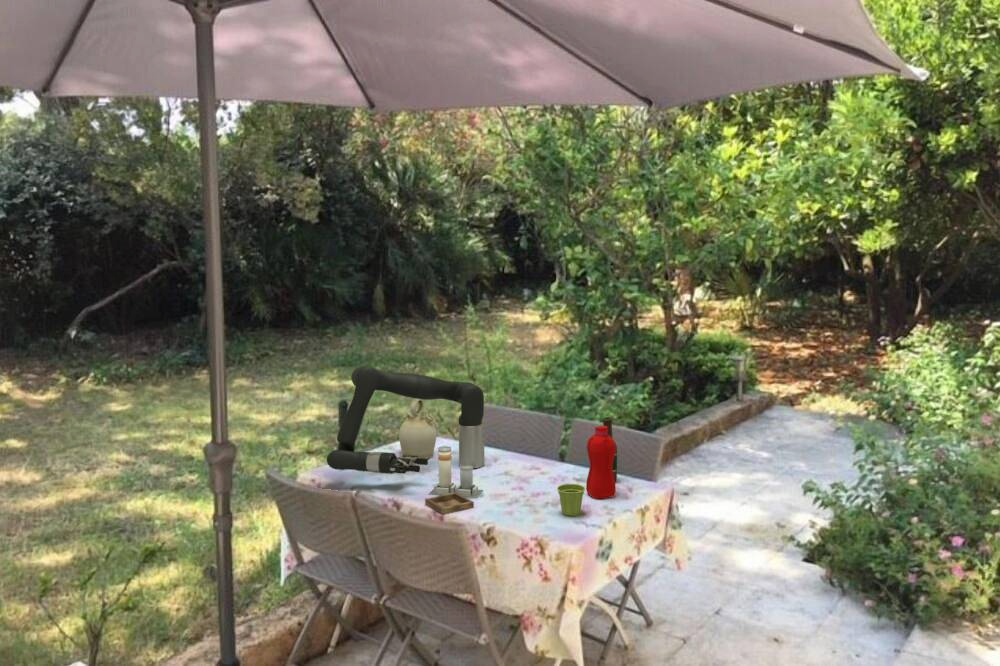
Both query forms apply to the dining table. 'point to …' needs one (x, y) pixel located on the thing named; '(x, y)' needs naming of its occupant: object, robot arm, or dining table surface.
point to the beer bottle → (608, 423)
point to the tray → (449, 503)
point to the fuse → (466, 477)
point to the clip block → (457, 489)
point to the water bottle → (601, 464)
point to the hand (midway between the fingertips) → (423, 465)
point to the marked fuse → (444, 467)
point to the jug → (417, 432)
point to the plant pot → (571, 498)
